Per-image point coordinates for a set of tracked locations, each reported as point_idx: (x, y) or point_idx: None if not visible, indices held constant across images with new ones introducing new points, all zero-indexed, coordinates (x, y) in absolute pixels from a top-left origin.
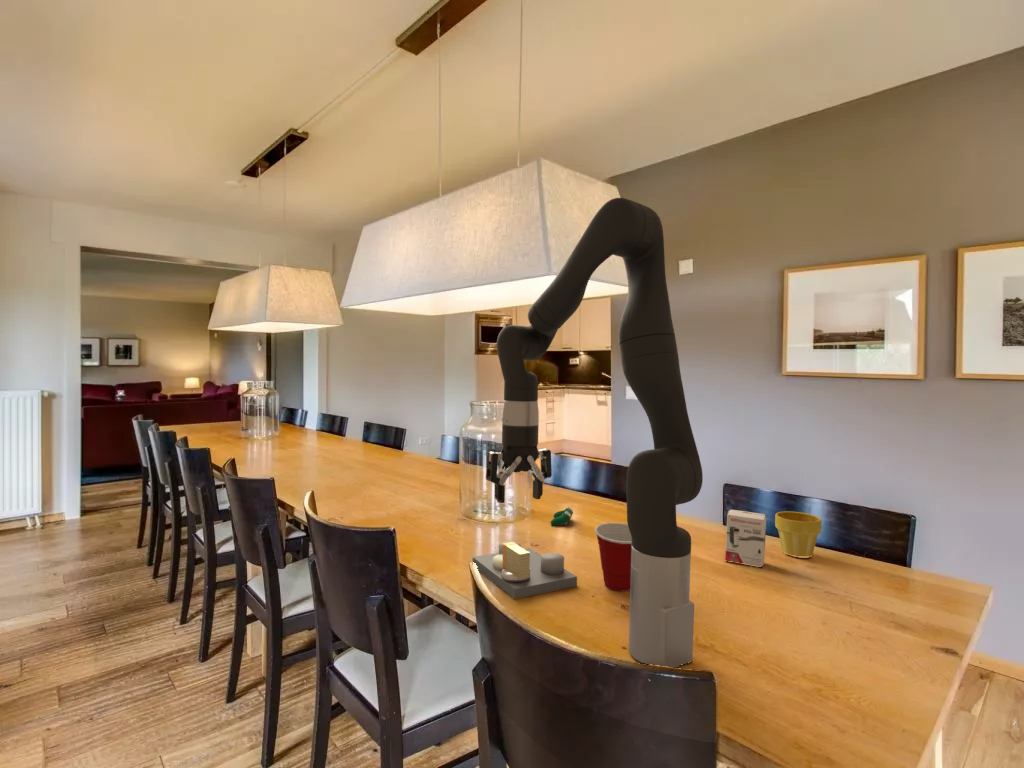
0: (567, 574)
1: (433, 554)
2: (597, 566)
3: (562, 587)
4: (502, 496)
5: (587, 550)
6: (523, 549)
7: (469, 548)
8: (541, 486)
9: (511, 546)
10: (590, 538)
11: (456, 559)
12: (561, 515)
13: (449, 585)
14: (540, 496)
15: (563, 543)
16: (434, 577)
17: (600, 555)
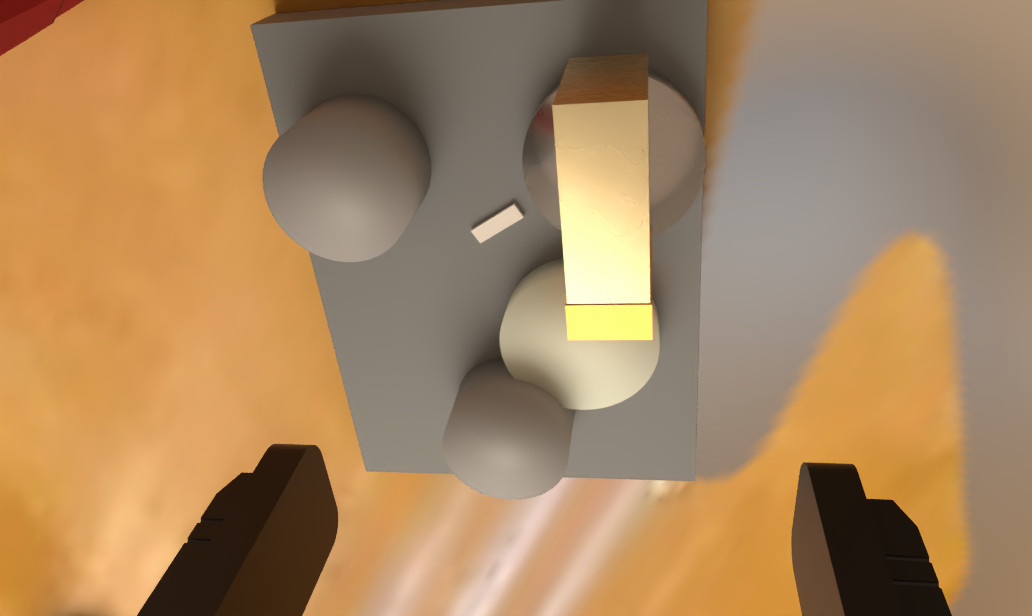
0: (296, 76)
1: (798, 612)
2: (81, 207)
3: (368, 7)
4: (856, 523)
5: (77, 391)
6: (566, 187)
7: (609, 604)
8: (186, 570)
9: (620, 274)
10: (26, 495)
11: (728, 532)
12: None
13: (937, 291)
14: (265, 457)
15: (167, 496)
16: (948, 403)
17: (18, 2)
